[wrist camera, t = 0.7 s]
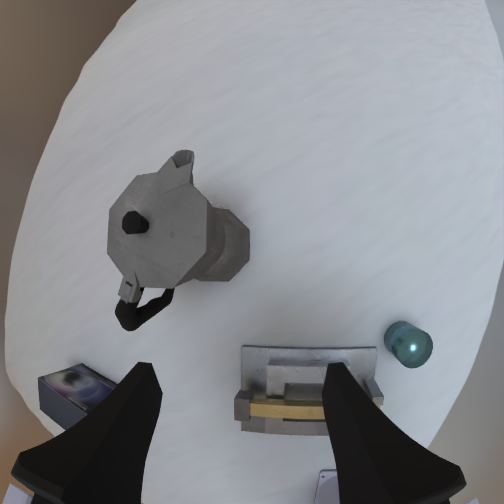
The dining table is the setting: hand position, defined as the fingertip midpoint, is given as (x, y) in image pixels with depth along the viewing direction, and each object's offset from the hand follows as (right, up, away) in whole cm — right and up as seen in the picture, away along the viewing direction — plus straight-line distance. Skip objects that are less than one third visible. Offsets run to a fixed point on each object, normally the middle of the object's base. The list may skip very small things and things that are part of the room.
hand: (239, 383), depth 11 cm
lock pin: (+7, -12, +17) cm, 22 cm away
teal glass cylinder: (+18, -5, +19) cm, 27 cm away
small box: (-23, -17, +27) cm, 39 cm away
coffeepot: (-4, +5, +24) cm, 25 cm away
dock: (+7, -12, +21) cm, 25 cm away
